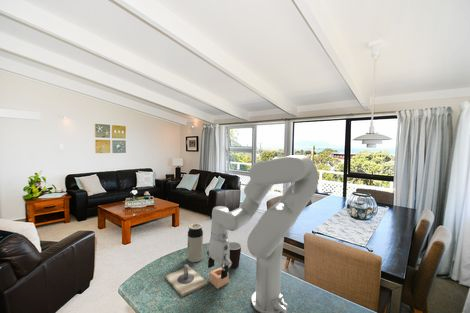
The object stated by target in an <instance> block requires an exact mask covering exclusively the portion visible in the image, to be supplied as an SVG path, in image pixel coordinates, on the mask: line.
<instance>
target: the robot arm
mask: <svg viewBox="0 0 470 313" xmlns="http://www.w3.org/2000/svg"><path fill="white" fill-rule="evenodd" d="M317 168H318V167H317V166H316V164H315V163H314V161H313V160H312V159H311V158H310V157H308V156H307V155H304V154H295V155H287V156H283V157H277V158H273V159H269V160H261V161H257V162H255V163H254V164H252V166H251V167H250V170H249V178H250V180H249V181H248V182H247V183H246V185H245V186H244V188H243V193H244V195H245V198H244V199H243V201H242V202H241V204H240V205H239V207H238V208H235V209H232V210H231V211H230V210H229V209H230V208H228V207H227V206H223V205H218V206H214V207H213V208H212V212H211V226H210V229H211V230H210V238H209V244H208V246H206V254H207V260H208V261H207V262H208V263H207V268H208V269H210V268H212V267H214V266H215V262H216V263H218V264H219V265H220V266H221V268H222V270H221V279H223V278H225V277H227V275H228V273H229V269H231V268H230V267H231V264H232V262H231V260H230V259H229V258H230V248H229V242H230V241H229V231H231V232H235V231H237V230H238V229H240V228H242V227H243V226H245V225H246V224H248V223H249V222H250V221H251V220H252V219H253V217H254V216H255V214H256V213H257V211H258V210H259V208H260V206H261V204H262V201H263V200H264V198H265V197H266V196H267V194H268V193H269V192H270V190H271V189H272V188H273V186H274V185H280V184H288V183H291V184H290V185H289V186H288V187H287V189H286V190H285V191H284V193H283V195H282V196H281V198H280V199H279V200H278V202H277V203H275V204H274V205H272V206H270V207H269V208H267V209H266V210H265V212H263V214H262V215H261V216H260V218H259V220H258V222H257V223H256V224H255V226H254V227H253V229H252V230H251V232H250V233H249V235H248V238H247V243H246V244H247V249H248V251H249V253H250V255H251V256H253V257H255V258H256V263H255V264H256V265H255V266H256V268H255V270H256V271H255V292H253V294H252V295H251V298H250V299H251V304H252V307H253V308H254V309H255V310H256V311H257V312H259V313H288V307H289V304H288V303H287V302H286V301H284V300H285V299H284V298H283V294H281V289H282V288H281V284H282V283H281V281H282V280H281V278H282V263H283V262H282V258H283V249H284V248H283V247H284V240H285V236H286V234H288V232H289V231H290V230H291V229H292V227H293V226H294V225H295V224H296V222H297V220H298V218H299V217H300V215H301V214H302V213H303V212H304V210H305V208H306V206H307V205H308V204H309V202H310V201H311V200H312V197H314V195H315V192H316V190H317V188H318V186H319V185H318V184H319V171H318V169H317ZM224 264H225V265H224Z"/></svg>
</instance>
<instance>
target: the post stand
mask: <svg viewBox="0 0 470 313" xmlns="http://www.w3.org/2000/svg"><path fill="white" fill-rule="evenodd" d="M165 279H166V280H167V282H168V283H169V285H171V286H172V287H173V288H174V290H176V292H177V293H178V294H179V295H180V297H181V298H184V297H185V296H187V295H190V294H191V293H193V292H196V291H198V290H199V289H201V288H203V287H206V286H207V285H208V281H207V280H205V279H204V277H202V276H201V275H200V274H199V273H198V272H197V271H195V269H193V268H192V267H191V266H189V264H188V263H187V264H184V265H183V268H181V269H178V270H176V271H173V272H170V273H168V274H166V275H165Z"/></svg>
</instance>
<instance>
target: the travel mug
mask: <svg viewBox="0 0 470 313" xmlns="http://www.w3.org/2000/svg"><path fill="white" fill-rule="evenodd" d="M203 243H204V230H203V224H202V223H191V224H189V225H188V231H187V261H188V262H191V263H198V262H200V261H202V260H203V257H204V256H203V255H204V254H203V249H204V244H203Z"/></svg>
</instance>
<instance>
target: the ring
mask: <svg viewBox="0 0 470 313" xmlns="http://www.w3.org/2000/svg"><path fill="white" fill-rule="evenodd" d="M221 270H222V267H218V268H216V269H214V270H211V271H209V283H211V284H212V285H213V286H214V287H215V288H216V289H218V290H219V288H222V287H224V286H225V285H228V284H229V282H230V280H229V277H230V276H229V273H230V272H228V275H227V277H225V278H223V279H221Z"/></svg>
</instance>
